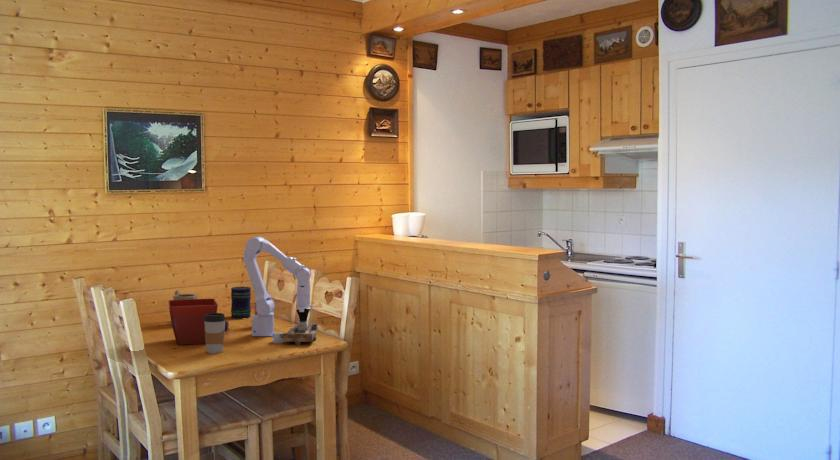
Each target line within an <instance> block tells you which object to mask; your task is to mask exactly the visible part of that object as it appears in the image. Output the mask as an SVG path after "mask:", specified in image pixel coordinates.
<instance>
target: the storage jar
mask: <svg viewBox="0 0 840 460" xmlns="http://www.w3.org/2000/svg"><path fill="white" fill-rule="evenodd" d="M251 290H252V287H250V286H235V287H234V286H233V287H230V291H231V293H230V296H231V297H230V299H231V307H230V313H231V314H230V315H231V316H230V318H231V319H233V318H235V320H244V319H243V318H247V319H250V318H251V314H252V313H251V312H252V306H251V300H252V291H251ZM249 317H250V318H249Z"/></svg>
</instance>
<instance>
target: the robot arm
mask: <svg viewBox="0 0 840 460" xmlns="http://www.w3.org/2000/svg"><path fill="white" fill-rule="evenodd" d="M260 253H268V254H269V255H271V256H272V257H274V258H275V259H277V260H278V261H279V262H281V263H282V267H283V268H284V269H285V270H286V271H288V272H289V274H290V273H291V275H293V276H295V279H296V280H297V286H296V287H297V288H296V308H297V309H296V313H297V315H298V317H299V321H308V317H309V314H310V312H311V309H310V308H312V307H314V306H313V305H314V304H311V277H312V272H311V271H312V270H311V269H310V268H309V267H306V266H305V265H304V264H301V263H300V262H299V261H298V260H297V257H293V256H287V255H286V254H285V253H284V252H282V251H281V250H279V249H278V248H277V247H276V246H275V245H274V244H273V243H271V242H270V241H269V240H268V239H265V238H264V237H263V236H260V235H258V236H255V237H250V238H249V239H248V240H247V241H246V243H245V244H244V251H243V257H242V259H243V262H244V266H245V268H246V271H247V275H248V277H249V280H250V283H251V285H252V289H253V292H254V295H255V300H254V301H255V302H256V311H257V313H258V314H257V315H255V314H254V315H252V318H251V337H273V332H275V330H274V329H275V324H274V323H275V318H274V317H275V316H274V315H275V313H274V310H275V309H276V308H275V307H276V303H275V301H274V300H273V299H272V297H271V295H270V293H268V291H267V288H266V285H265V282H264V279H263V277H262V273H261V271H260V268H259V265H258V262H257V258H258V256H259V254H260ZM255 302H254V303H255Z"/></svg>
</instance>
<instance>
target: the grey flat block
mask: <svg viewBox="0 0 840 460" xmlns="http://www.w3.org/2000/svg"><path fill="white" fill-rule="evenodd" d="M318 331H319V330H318V323H317V322H313V323H312V324H310V325H308V327H307V330H306V331H297V324H295V325H294V326H293V327H290V328H289V330H288V331H287V332H282V333H283V341H284V343H285V342H290V343H291V342H292V343H293V342H295V343H294V345H295V346H300V345H302V343H301V342H303V343H306V342H307V343H308V342H310V343H311V342H313V341H316V340H317V333H318Z"/></svg>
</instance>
